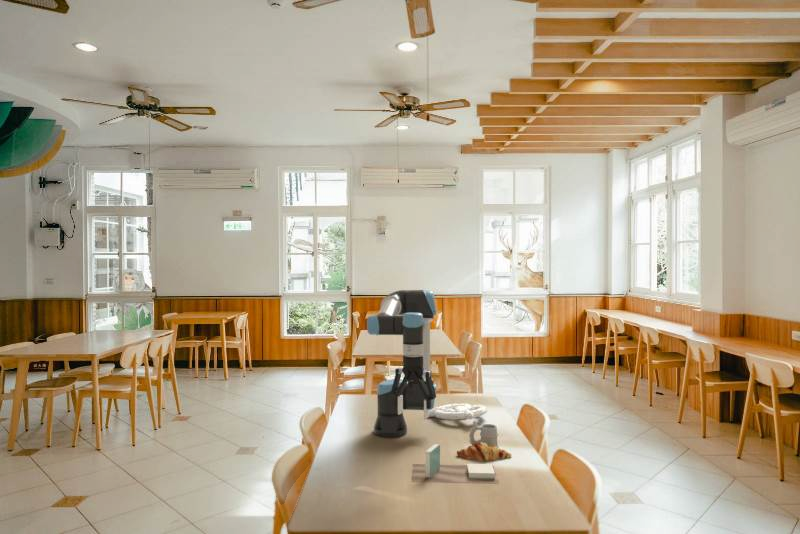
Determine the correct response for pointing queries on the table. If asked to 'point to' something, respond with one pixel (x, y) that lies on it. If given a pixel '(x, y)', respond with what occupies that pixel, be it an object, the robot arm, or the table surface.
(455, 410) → the white flat coiled piece
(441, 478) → the board
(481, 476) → the tile
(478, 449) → the croissant
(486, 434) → the mug
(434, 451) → the tile
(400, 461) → the table surface
